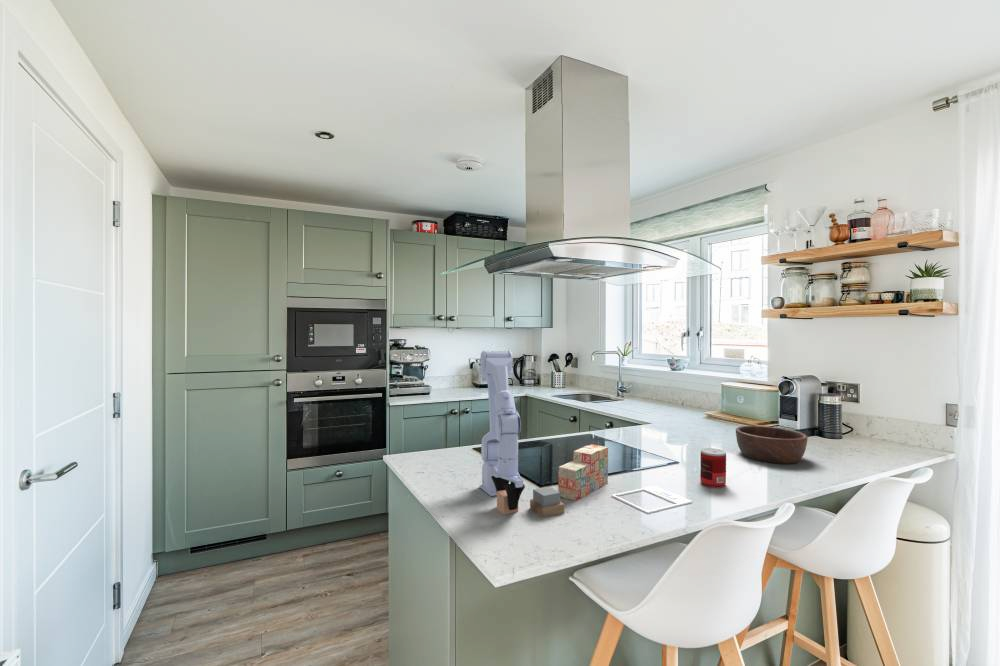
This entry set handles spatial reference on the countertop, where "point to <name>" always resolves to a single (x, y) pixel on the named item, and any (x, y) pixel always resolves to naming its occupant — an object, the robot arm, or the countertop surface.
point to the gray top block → (546, 496)
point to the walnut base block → (547, 509)
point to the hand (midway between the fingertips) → (507, 505)
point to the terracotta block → (503, 503)
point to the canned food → (713, 467)
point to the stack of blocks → (584, 472)
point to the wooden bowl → (771, 444)
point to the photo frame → (659, 493)
